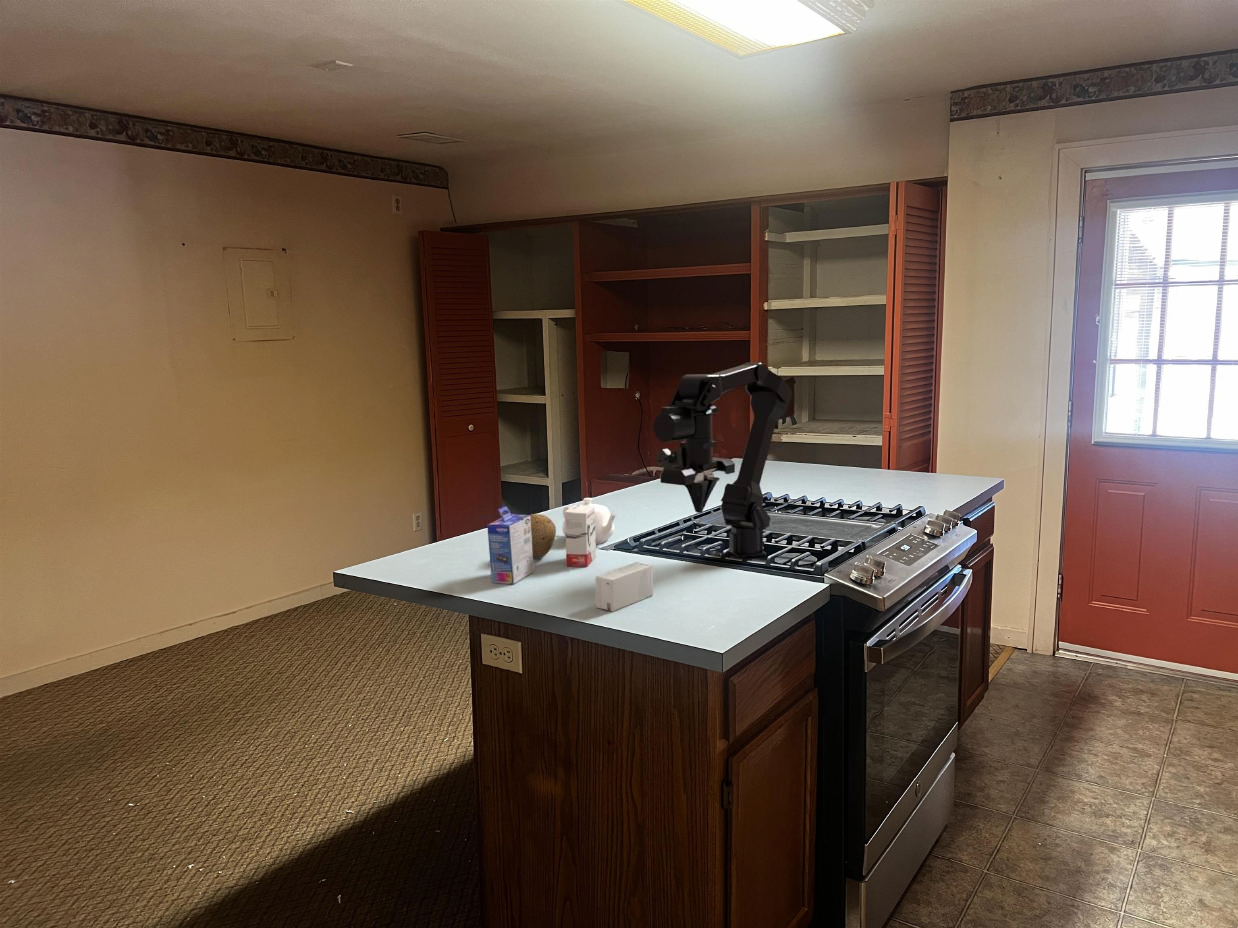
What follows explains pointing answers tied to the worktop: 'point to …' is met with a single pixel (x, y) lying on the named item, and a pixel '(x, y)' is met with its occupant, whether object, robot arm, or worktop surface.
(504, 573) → the ink cartridge box
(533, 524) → the natural sponge
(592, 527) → the ink box
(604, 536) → the teapot
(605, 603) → the skincare box
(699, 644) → the worktop surface
